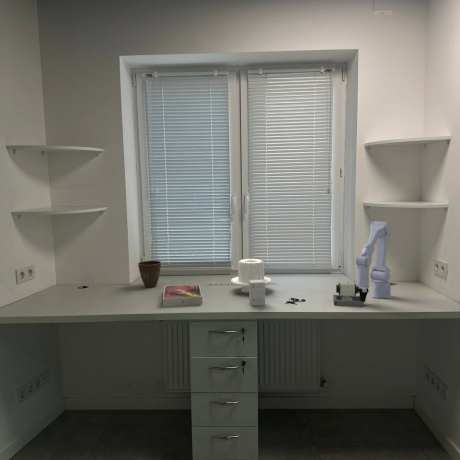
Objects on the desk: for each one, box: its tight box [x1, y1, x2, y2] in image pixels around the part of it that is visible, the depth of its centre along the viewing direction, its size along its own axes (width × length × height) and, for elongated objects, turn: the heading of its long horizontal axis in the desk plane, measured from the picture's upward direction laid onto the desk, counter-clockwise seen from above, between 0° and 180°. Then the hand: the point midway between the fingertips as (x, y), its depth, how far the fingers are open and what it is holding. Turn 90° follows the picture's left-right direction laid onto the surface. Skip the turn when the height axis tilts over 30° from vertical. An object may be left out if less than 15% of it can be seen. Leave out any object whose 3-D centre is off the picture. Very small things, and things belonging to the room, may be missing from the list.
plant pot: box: [137, 260, 162, 289], centre depth 255 cm, size 15×15×16 cm
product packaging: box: [162, 283, 203, 307], centre depth 227 cm, size 22×28×5 cm
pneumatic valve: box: [335, 281, 359, 301], centre depth 213 cm, size 6×12×12 cm, turn 79°
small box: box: [248, 280, 266, 307], centre depth 213 cm, size 8×6×13 cm
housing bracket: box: [332, 294, 365, 308], centre depth 213 cm, size 16×12×2 cm
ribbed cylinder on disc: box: [230, 258, 272, 294], centre depth 241 cm, size 25×25×19 cm
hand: (362, 301), depth 212 cm, fingers closed, pressing on pneumatic valve
